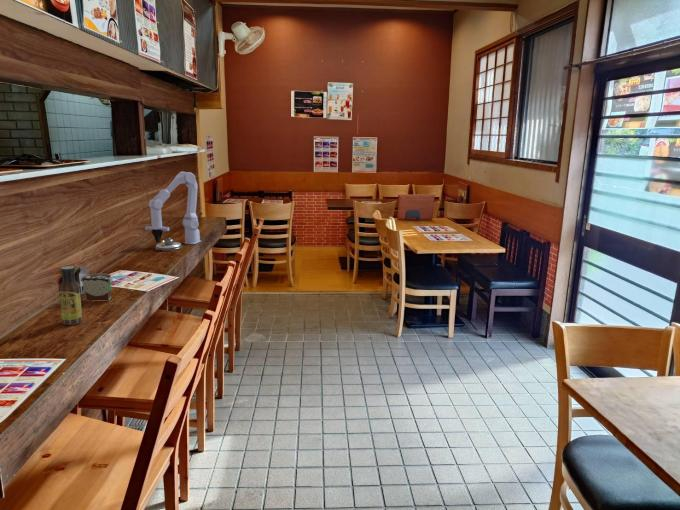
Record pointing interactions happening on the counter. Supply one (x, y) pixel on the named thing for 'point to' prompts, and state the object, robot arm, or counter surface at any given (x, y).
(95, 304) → the counter surface
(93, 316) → the counter surface
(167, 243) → the lid
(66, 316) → the sauce bottle
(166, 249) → the turntable base
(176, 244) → the turntable
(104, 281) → the food container
